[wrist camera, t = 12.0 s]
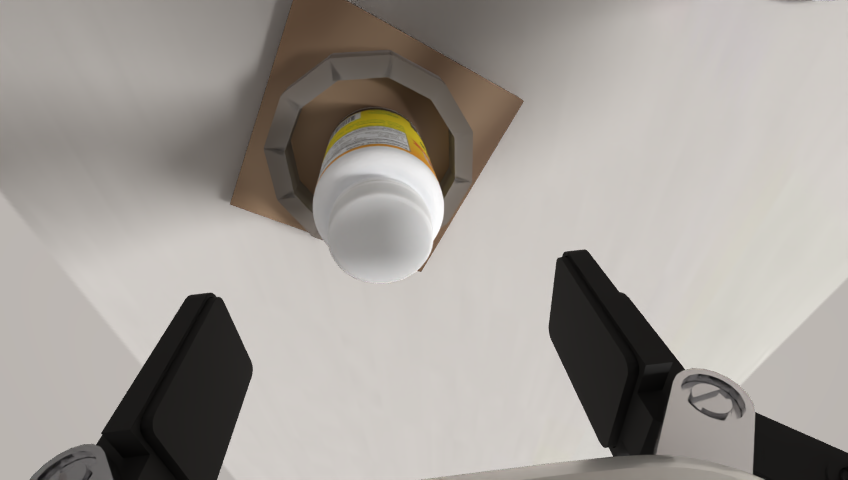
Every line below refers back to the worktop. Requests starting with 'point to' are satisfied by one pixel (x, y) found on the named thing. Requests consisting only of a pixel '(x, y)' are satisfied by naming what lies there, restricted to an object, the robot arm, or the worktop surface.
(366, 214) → the supplement bottle
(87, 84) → the worktop surface
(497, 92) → the rosette collar
